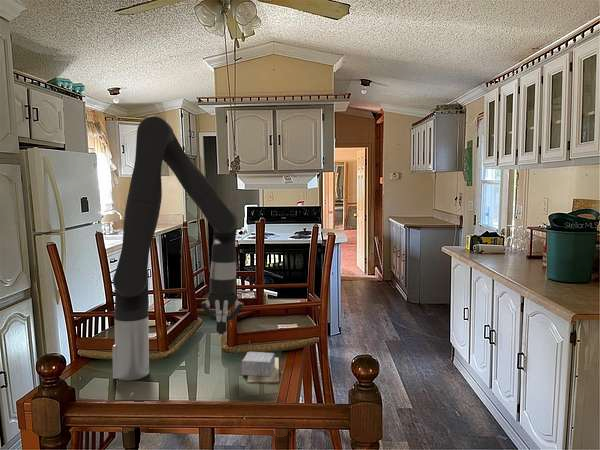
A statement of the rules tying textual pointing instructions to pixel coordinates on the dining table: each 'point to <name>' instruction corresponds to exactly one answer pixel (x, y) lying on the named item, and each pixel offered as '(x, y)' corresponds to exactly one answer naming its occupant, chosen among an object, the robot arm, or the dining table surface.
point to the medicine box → (258, 364)
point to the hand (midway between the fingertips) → (221, 333)
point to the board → (272, 378)
